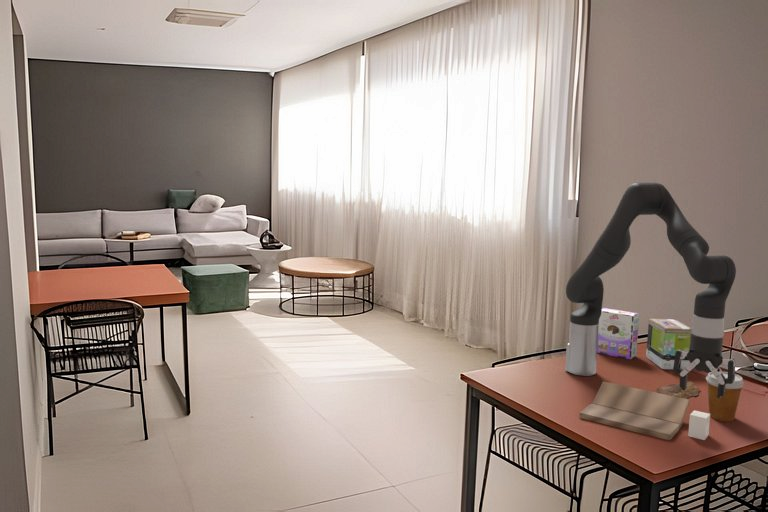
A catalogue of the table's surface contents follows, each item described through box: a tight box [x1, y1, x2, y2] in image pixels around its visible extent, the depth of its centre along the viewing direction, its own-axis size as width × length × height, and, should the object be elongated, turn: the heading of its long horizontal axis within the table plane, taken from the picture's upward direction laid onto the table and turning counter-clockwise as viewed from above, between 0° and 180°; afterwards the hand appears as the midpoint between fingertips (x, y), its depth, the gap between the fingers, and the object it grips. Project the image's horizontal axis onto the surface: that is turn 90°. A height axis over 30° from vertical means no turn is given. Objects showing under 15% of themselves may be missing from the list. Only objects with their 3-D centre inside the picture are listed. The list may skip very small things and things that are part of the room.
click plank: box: [592, 381, 690, 429], centre depth 189 cm, size 24×9×2 cm
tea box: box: [645, 318, 691, 371], centre depth 236 cm, size 15×10×15 cm, turn 179°
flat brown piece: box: [656, 381, 702, 400], centre depth 207 cm, size 26×11×1 cm, turn 134°
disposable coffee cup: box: [705, 371, 745, 422], centre depth 187 cm, size 10×10×12 cm
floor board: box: [579, 403, 681, 441], centre depth 182 cm, size 24×10×2 cm, turn 52°
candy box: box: [597, 307, 640, 360], centre depth 246 cm, size 14×6×16 cm, turn 47°
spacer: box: [687, 409, 711, 441], centre depth 174 cm, size 4×4×6 cm
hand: (701, 393), depth 173 cm, fingers open, 8 cm apart
